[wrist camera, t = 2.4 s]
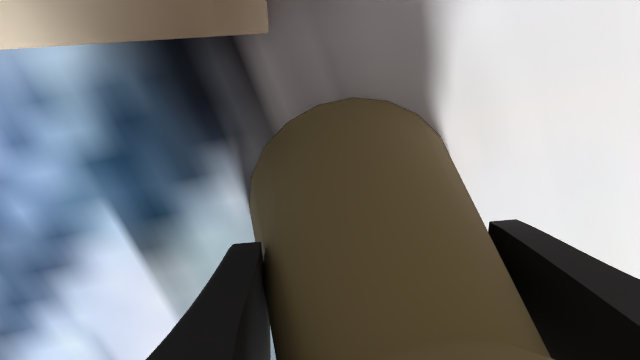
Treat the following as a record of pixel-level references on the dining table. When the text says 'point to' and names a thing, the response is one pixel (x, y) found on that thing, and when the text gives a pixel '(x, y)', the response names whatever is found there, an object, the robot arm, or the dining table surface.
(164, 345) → the robot arm
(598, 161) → the dining table surface
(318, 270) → the cork
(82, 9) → the base board
